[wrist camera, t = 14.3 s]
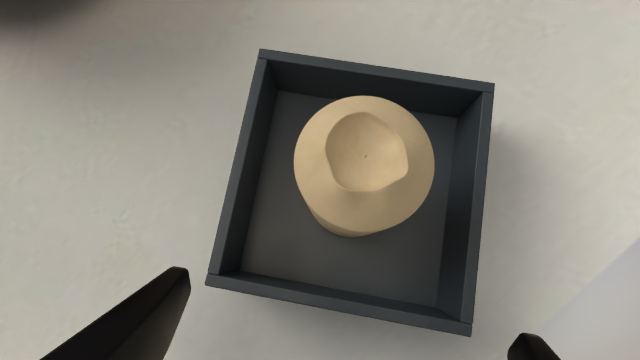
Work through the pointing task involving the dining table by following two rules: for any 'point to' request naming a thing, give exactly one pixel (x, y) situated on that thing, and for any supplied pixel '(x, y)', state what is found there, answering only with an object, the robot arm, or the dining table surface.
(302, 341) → the dining table surface
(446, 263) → the dark gray square tray
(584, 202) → the dining table surface
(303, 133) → the candle
